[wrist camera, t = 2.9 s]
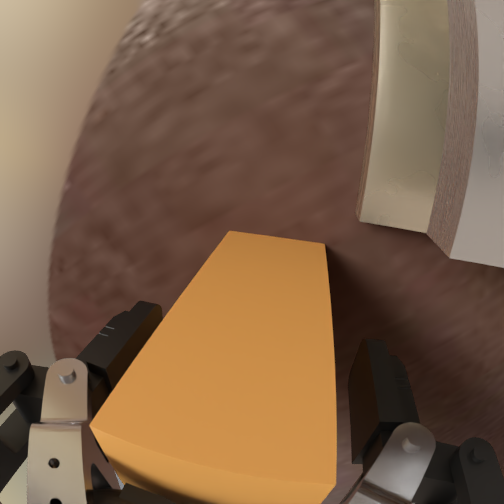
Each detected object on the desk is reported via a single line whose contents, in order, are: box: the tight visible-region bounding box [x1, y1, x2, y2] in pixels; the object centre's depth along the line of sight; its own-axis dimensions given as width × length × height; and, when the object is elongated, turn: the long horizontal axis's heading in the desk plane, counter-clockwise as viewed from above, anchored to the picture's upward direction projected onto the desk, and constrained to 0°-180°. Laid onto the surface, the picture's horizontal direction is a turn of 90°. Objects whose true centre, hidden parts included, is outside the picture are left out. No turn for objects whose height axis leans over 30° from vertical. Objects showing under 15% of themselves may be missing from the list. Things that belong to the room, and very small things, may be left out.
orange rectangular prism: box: [89, 231, 337, 504], centre depth 9 cm, size 4×5×10 cm
